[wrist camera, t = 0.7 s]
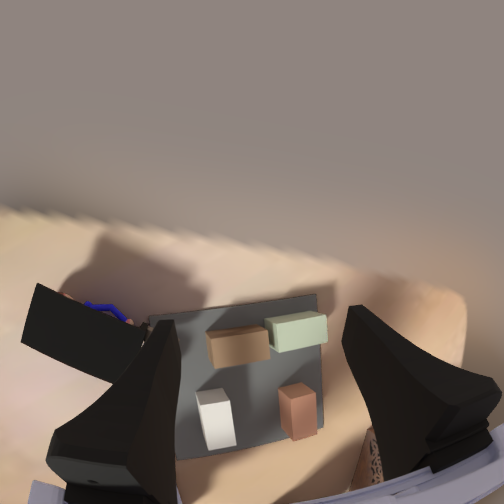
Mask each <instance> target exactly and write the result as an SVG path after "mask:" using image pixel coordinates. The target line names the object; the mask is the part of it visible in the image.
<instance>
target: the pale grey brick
mask: <svg viewBox="0 0 504 504" xmlns="http://www.w3.org/2000/svg"><path fill="white" fill-rule="evenodd" d="M195 393H196V399H197V404H198V410H199V415H200V421H201V426H202V431H203V435H204V438H205V441H206V444H207V447H208V450H214V449H220V448H225V447H231V446H236V438H235V432H234V425H233V419H232V412H231V405H230V400H229V398H228V397H227V395H226V393H225V392H224V390H223V388H218V389H212V390H205V391H198V392H195Z"/></svg>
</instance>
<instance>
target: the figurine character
mask: <svg viewBox="0 0 504 504" xmlns="http://www.w3.org/2000/svg"><path fill="white" fill-rule="evenodd" d="M100 311H111V312H112V313H113V314H114V315H115V316H116V317H117V318H118V319H116V318H114V317H112V316H109V315H107V314H104V313H102V312H100ZM148 325H149V324H147V323H145V322H143V324H142V326H141V327H140V328H139V327H136V326H134V322H133V321H132V320H131V319H127V318H126V317H125V316H124V315H123V314H122V313H121V312H120V311H119V310H118V309H117V308H116V307H115V306H114V305H113V304H98V305H92V303H91V302H89V301H86V302H85V303H84V304H82V303H79V302H77V301H75V300H74V299H73V298H72V297H71V296H69V295H67V294H65V293H61V292H56V291H54V290H52V289H49V288H47V287H45V286H43V285H41V284H39V283H37V284H36V287H35V291H34V294H33V297H32V301H31V304H30V308H29V311H28V315H27V319H26V322H25V326H24V330H23V334H22V339H21V343H23V344H25V345H27V346H29V347H31V348H33V349H35V350H37V351H39V352H41V353H43V354H45V355H47V356H49V357H51V358H53V359H55V360H57V361H59V362H62V363H64V364H66V365H68V366H71V367H73V368H75V369H77V370H80V371H82V372H84V373H87V374H89V375H92V376H94V377H97V378H99V379H102V380H104V381H107V382H109V383H112V384H114V383H115V382H116V380H117V379H118V378H119V377H120V376H121V375H122V373H123V372H124V371H125V370H126V368H127V367H128V366H129V364H130V363H131V362H132V360H133V359H134V358H135V356H136V355H137V353H138V352H139V351H140V349H141V346H142V343H143V340H144V341H146V340H147V338H148V337H149V335H150V333H151V332H152V330H153V327H148ZM178 341H180V339H179V338H178Z"/></svg>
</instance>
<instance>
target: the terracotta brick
mask: <svg viewBox="0 0 504 504" xmlns="http://www.w3.org/2000/svg"><path fill="white" fill-rule="evenodd" d="M278 396H279V407H280V419H281V428H282V429H283V430H284V431H285V433H286V434H287V435H288V436H289V437H290V438H291V439H292V440H293V441H297V440H300V439H303V438H307V437H310V436H313V435H316V434H317V408H316V392H314V391H313V390H312V389H310V388H309V387H307V386H306V385H305V384H303V383H302V382H300V383H296V384H292V385H288V386H284V387H280V388H278Z"/></svg>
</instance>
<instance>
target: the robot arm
mask: <svg viewBox="0 0 504 504" xmlns="http://www.w3.org/2000/svg"><path fill="white" fill-rule="evenodd" d="M341 342H342V346H343V349H344V353H345V356H346V359H347V362H348V364H349V367H350V369H351V371H352V374H353V376H354V378H355V380H356V382H357V385H358V387H359V389H360V391H361V394H362V396H363V398H364V400H365V403H366V406H367V408H368V411H369V415H370V418H371V422H372V425H373V429H374V433H375V437H376V441H377V445H378V450H379V455H380V460H381V466H382V473H383V480H384V482H382V483H379V484H376V485H373V486H369V487H366V488H362V489H358V490H355V491H351V492H347V493H343V494H338V495H334V496H329V497H325V498H320V499H315V500H309V501H303V502H297V503H291V504H474V503H475V502H477V501H479V500H480V499H482V498H484V497H485V496H487V495H488V494H490V493H491V492H493V491H494V490H496V489H498V488H499V487H500V486H502V485H503V484H504V423H503V424H501V425H500V426H498V427H496V428H495V429H493V430H492V431H491V432H490V433H489V432H488V430H487V427H488V426H489V423H488V421H487V419H486V418H487V417H488V416H489V414H490V413H491V412H492V411H493V410H494V408H495V407H496V406H497V404H498V402H499V401H500V399H501V396H502V391H501V390H500V388H499V387H498V386H497V384H496V383H495V381H494V380H493V379H492V378H490V377H487V376H483V375H479V374H476V373H472V372H469V371H466V370H464V369H461V368H458V367H456V366H453V365H451V364H449V363H447V362H444V361H442V360H440V359H438V358H436V357H434V356H432V355H431V354H429V353H427V352H426V351H424V350H422V349H420V348H419V347H417V346H416V345H414V344H413V343H411V342H410V341H408V340H407V339H405V338H404V337H403V336H401V335H400V334H399V333H397V332H396V331H395V330H393V329H392V328H391V327H390V326H388V325H387V324H386V323H384V322H383V321H382V320H381V319H380V318H378V317H377V316H376V315H375V314H373V313H372V312H371V311H370V310H368V309H367V308H366V307H364V306H363V305H355V306H349V308H348V313H347V318H346V323H345V327H344V332H343V337H342V341H341ZM181 356H182V355H181V350H180V346H179V341H178V336H177V331H176V327H175V322H174V319H167V320H159V321H158V322H157V323H156V325H155V327H154V328H153V330H152V332H151V333H150V335H149V337H148V338H147V340H146V341H145V343H144V345H143V346H142V348H141V349H140V351H139V352H138V353H137V355H136V356H135V358H134V359H133V360H132V362H131V363H130V364H129V366H128V367H127V368H126V370H125V371H124V372H123V373H122V375H121V376H120V377H119V378H118V379H117V380H116V382H115V383H114V384H113V385H112V386H111V387H110V388H109V389H108V390H107V391H106V392H105V393H104V394H103V395H102V396H101V397H100V398H99V399H98V400H97V401H95V402H94V403H93V404H92V405H91V406H89V407H88V408H87V409H86V410H84V411H83V412H82V413H80V414H79V415H78V416H76V417H75V418H73V419H72V420H70V421H69V422H67V423H65V424H64V425H62V426H61V427H59V428H57V429H55V431H54V434H53V436H52V438H51V442H50V445H49V449H48V453H47V456H46V463H47V465H48V466H49V467H50V468H51V470H52V471H54V472H55V473H56V474H57V475H58V476H59V477H60V478H62V479H63V480H64V481H65V482H66V483H67V485H66V490H65V489H63V488H60V487H58V486H55V485H51V484H47V483H44V482H40V481H37V480H33V481H32V486H31V490H30V494H29V499H28V504H182V501H181V498H180V494H179V491H178V488H177V485H176V472H175V420H176V412H177V404H178V397H179V389H180V381H181Z"/></svg>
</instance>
